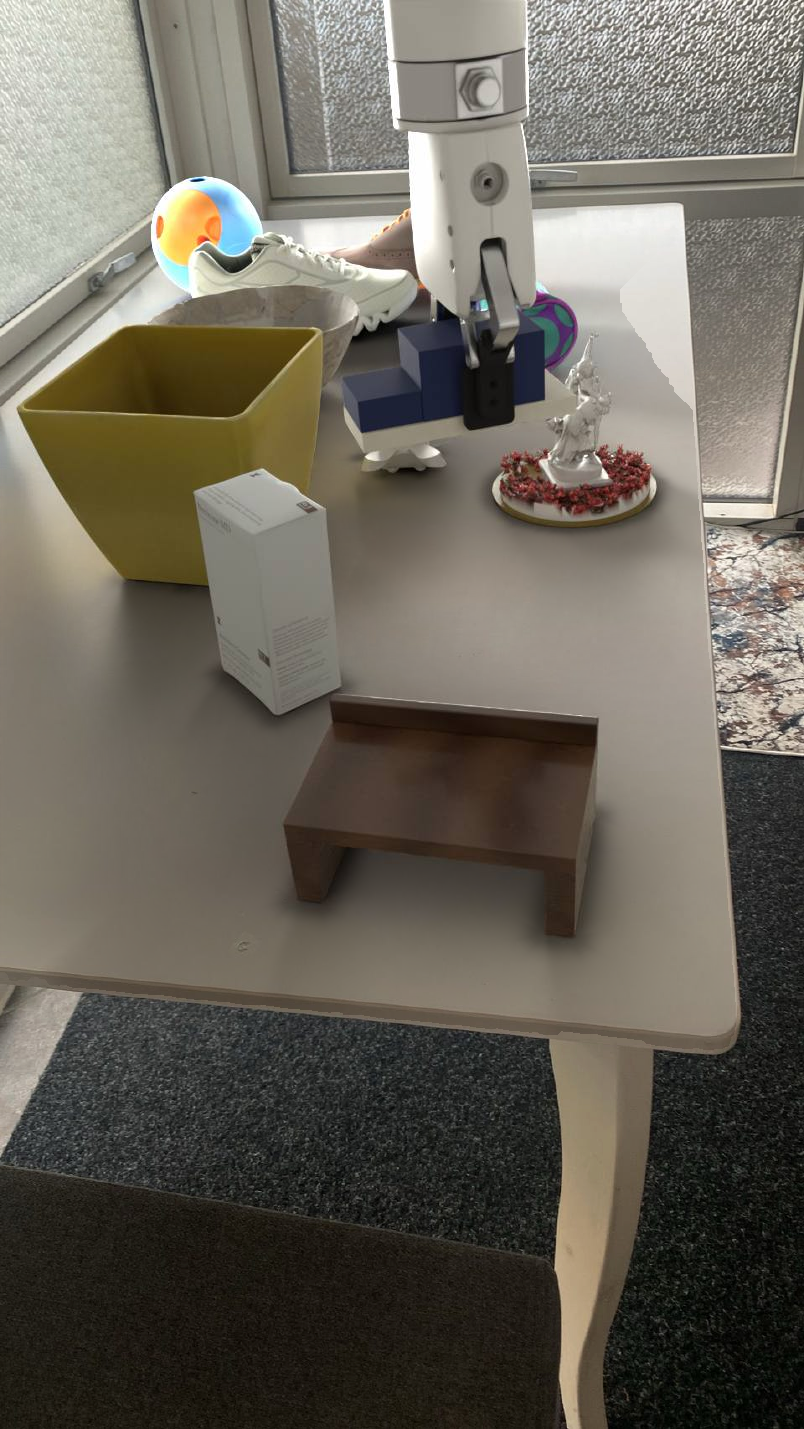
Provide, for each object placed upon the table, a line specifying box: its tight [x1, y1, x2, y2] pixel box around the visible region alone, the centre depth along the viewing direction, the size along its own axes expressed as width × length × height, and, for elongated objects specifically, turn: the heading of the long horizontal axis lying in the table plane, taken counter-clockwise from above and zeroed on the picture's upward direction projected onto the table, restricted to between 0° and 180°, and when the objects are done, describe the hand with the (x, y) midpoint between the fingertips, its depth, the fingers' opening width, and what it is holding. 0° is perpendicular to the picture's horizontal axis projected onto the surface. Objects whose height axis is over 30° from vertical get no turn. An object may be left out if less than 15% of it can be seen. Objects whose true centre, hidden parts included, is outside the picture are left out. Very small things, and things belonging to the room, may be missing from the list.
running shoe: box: [189, 232, 420, 337], centre depth 141 cm, size 11×30×12 cm, turn 89°
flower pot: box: [16, 323, 323, 587], centre depth 94 cm, size 19×19×17 cm
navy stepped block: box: [340, 308, 576, 454], centre depth 71 cm, size 14×5×6 cm, turn 105°
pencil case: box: [477, 279, 579, 373], centre depth 131 cm, size 21×9×10 cm, turn 10°
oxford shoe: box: [307, 208, 426, 291], centre depth 152 cm, size 11×31×11 cm, turn 79°
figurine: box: [491, 331, 658, 528], centre depth 99 cm, size 15×15×14 cm
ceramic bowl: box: [146, 285, 359, 390], centre depth 123 cm, size 22×23×10 cm
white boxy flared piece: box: [360, 436, 455, 474], centre depth 109 cm, size 10×5×15 cm
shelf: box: [282, 693, 600, 938], centre depth 64 cm, size 16×10×8 cm, turn 76°
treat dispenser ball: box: [150, 176, 264, 294], centre depth 157 cm, size 16×15×15 cm
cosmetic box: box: [193, 469, 343, 716], centre depth 78 cm, size 8×6×15 cm
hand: (473, 405), depth 72 cm, fingers closed on navy stepped block, 5 cm apart
